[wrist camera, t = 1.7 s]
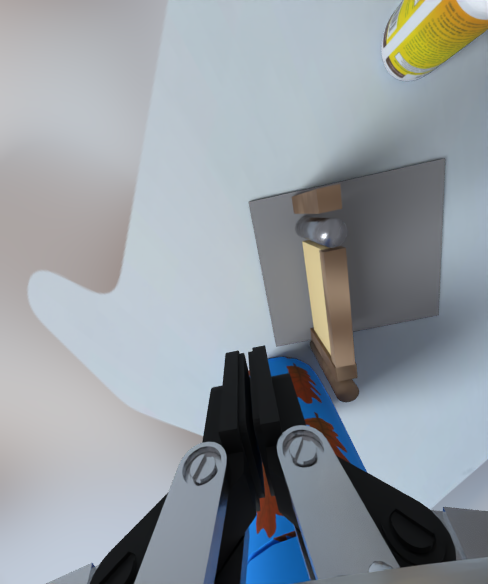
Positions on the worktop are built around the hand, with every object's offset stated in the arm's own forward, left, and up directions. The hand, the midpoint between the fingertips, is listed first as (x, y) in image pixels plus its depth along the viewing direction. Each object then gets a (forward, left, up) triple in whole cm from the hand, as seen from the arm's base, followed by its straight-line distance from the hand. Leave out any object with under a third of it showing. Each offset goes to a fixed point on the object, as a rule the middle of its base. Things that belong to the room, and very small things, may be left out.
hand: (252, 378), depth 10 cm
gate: (+2, +7, -16) cm, 18 cm away
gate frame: (+1, +12, -17) cm, 21 cm away
